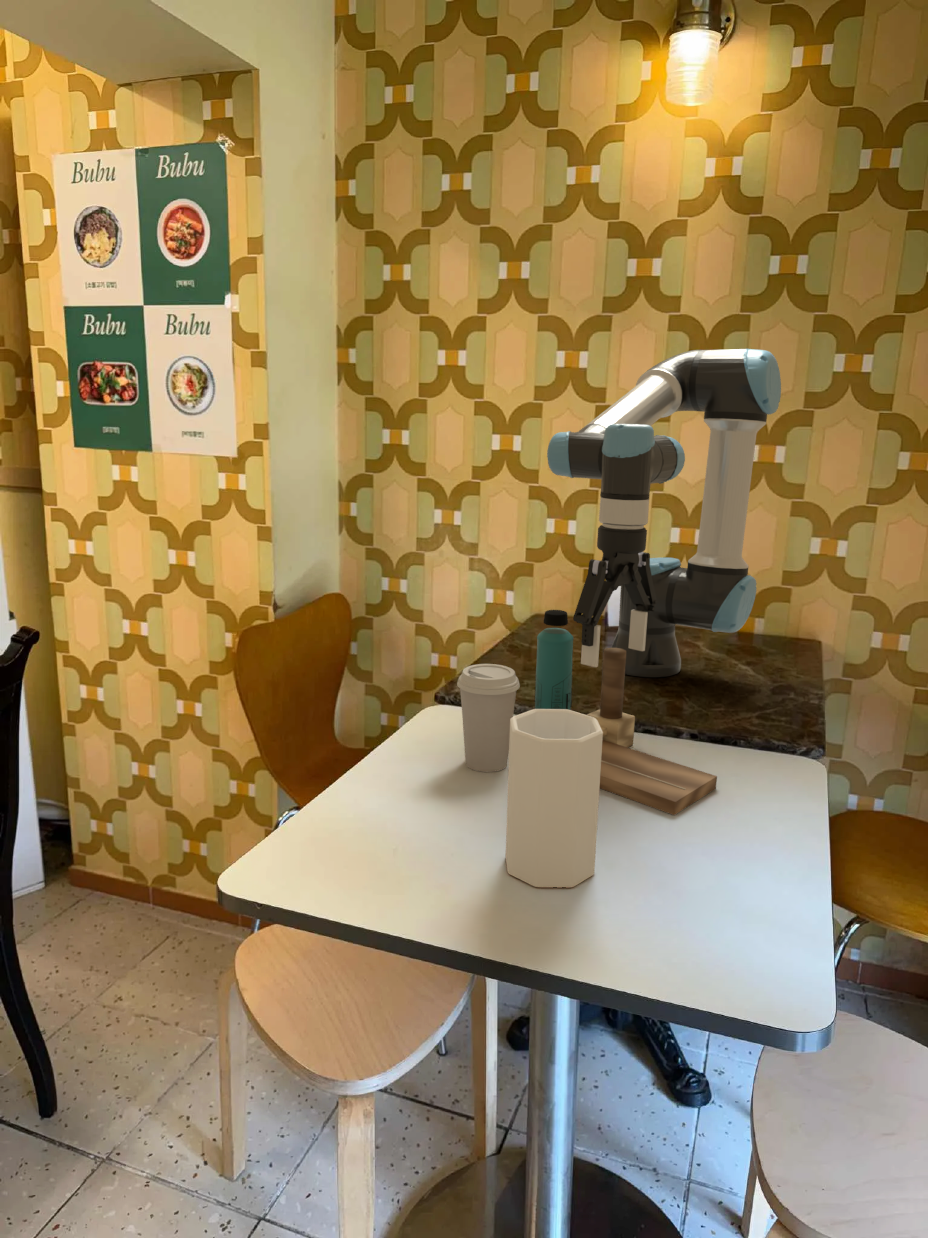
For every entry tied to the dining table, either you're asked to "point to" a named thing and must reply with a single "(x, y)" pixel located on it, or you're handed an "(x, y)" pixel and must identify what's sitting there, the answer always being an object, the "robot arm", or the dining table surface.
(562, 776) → the cup
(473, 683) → the coffee cup
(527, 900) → the dining table surface
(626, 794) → the board
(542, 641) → the beverage bottle
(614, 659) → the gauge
